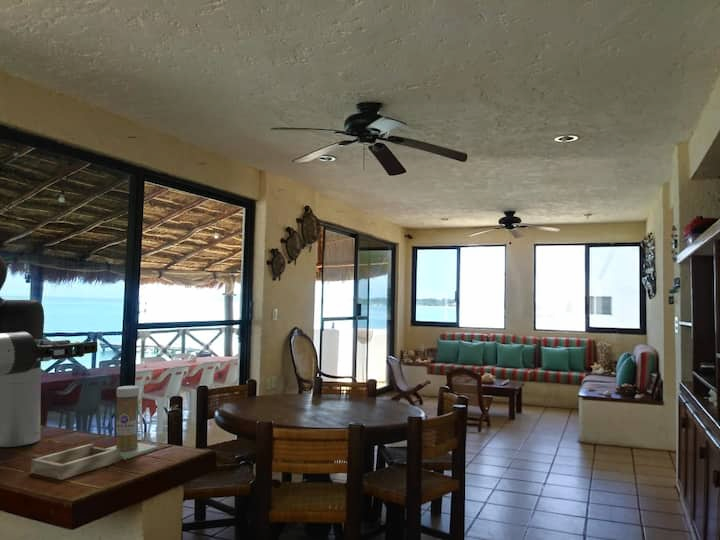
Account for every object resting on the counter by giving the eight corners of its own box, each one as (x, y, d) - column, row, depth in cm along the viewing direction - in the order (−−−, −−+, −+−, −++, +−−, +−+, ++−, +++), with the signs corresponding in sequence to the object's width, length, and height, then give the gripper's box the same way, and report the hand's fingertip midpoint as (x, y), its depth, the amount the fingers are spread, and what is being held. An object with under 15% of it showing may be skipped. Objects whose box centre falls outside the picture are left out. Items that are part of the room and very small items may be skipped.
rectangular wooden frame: (61, 479, 106) (61, 466, 106) (31, 472, 110) (31, 459, 110) (120, 461, 117) (120, 448, 117) (91, 455, 122) (91, 443, 122)
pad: (124, 459, 118) (124, 456, 118) (95, 454, 122) (95, 451, 122) (158, 448, 126) (158, 446, 126) (130, 444, 130) (130, 441, 130)
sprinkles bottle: (114, 452, 121) (115, 389, 122) (117, 447, 126) (117, 385, 126) (137, 450, 123) (138, 387, 123) (139, 445, 127) (139, 384, 128)
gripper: (24, 334, 98) (106, 328, 112) (-23, 332, 105) (60, 326, 119) (23, 378, 98) (105, 366, 112) (-23, 373, 104) (60, 362, 119)
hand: (82, 346), depth 115 cm, fingers open, 8 cm apart
